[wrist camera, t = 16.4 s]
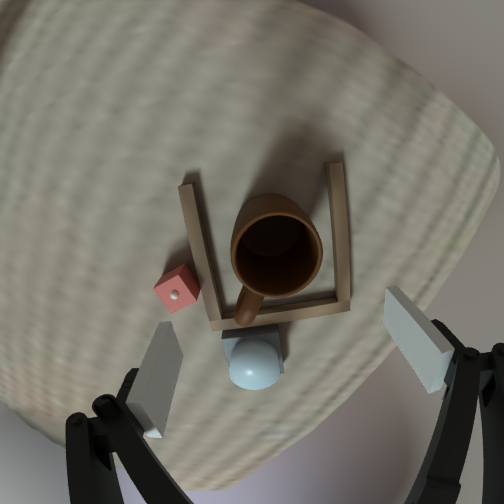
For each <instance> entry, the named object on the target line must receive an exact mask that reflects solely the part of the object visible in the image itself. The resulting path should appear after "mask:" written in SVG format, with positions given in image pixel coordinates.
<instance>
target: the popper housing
mask: <svg viewBox="0 0 504 504" xmlns="http://www.w3.org/2000/svg"><path fill="white" fill-rule="evenodd" d="M249 339H260V340H264V341H267V342H269V343H270V344H272V345H273V346H274V347H275V349H276V350H277V353H278V360H279V368H280V374H281V373H284V367H283V359H282V352H281V344H280V337H279V330H278V323H275V324H268V325H260V326H253V327H245V328H237V329H228V330H223V332H222V339H221V340H222V343H223V347H224V351H225V354H226V358H227V362H228V365H229V368H230V357H231V352H232V350H233V348H234V347H235V346H236V345H237V344H239V343H240V342H242V341H245V340H249Z"/></svg>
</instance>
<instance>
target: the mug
mask: <svg viewBox="0 0 504 504" xmlns="http://www.w3.org/2000/svg"><path fill="white" fill-rule="evenodd" d="M230 251H231V263H232V267H233V270H234V272H235V274H236V276H237V278H238V279H239V280H240V282H241V283H242V284H243V287H242V289H241V292H240V294H239V297H238V300H237V304H236V308H235V313H234V319H235V322H236V323H237V324H238V325H240V326H243V327H245V326H248V325H250V324H252V322H253V321H254V319H255V318H256V316H257V314H258V312H259V309H260V307H261V304H262V301H263V299H264V296H266V297H275V298H276V297H285V296H289V295H292V294H295V293H297V292H299V291H301V290H302V289H304V288H305V287H306V286H307V285H308V284H309V283H311V281H312V280H313V279H314V278H315V276H316V275H317V273H318V271H319V269H320V266H321V263H322V257H323V248H322V242H321V239H320V236H319V234H318V232H317V230H316V228H315V226H314V225H313V223H312V222H311V220H310V219H309V218H308V217H307V215H306V214H305V213H304V212H303V211H302V210H301V209H300V208H299V207H298V206H297V205H296V204H295V203H294V202H293V201H292V200H290V199H288V198H286V197H284V196H282V195H278V194H264V195H260V196H257V197H255V198H253V199H251V200H250V201H248V202H247V203H246V204H245V205H244V206H243V207H242V209H241V210H240V212H239V214H238V216H237V219H236V222H235V226H234V229H233V234H232V239H231V247H230Z"/></svg>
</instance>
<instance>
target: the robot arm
mask: <svg viewBox="0 0 504 504" xmlns="http://www.w3.org/2000/svg"><path fill="white" fill-rule="evenodd" d="M383 325H384V327H385V328H386V330H387V331H388V332H389V334H390V335H391V337H392V338H393V340H394V341H395V343H396V344H397V346H398V347H399V349H400V350H401V352H402V353H403V354H404V356H405V358H406V359H407V361H408V362H409V364H410V365H411V367H412V368H413V370H414V371H415V373H416V374H417V376H418V378H419V379H420V381H421V382H422V384H423V386H424V387H425V389H426V390H427V392H428V394H429V393H432V392H435V391H437V390H440V389H441V387H442V384H443V382H445V383H446V385H447V387H446V390H445V392H444V395H443V397H442V400H443V402H442V406H441V410H440V413H439V417H438V420H437V423H436V427H435V430H434V433H433V436H432V439H431V442H430V445H429V448H428V450H427V453H426V456H425V458H424V461H423V463H422V466H421V468H420V471H419V473H418V476H417V478H416V480H415V482H414V485H413V487H412V489H411V491H410V493H409V495H408V497H407V499H406V501H405V503H404V504H455V503H456V501H457V498H458V495H459V492H460V488H461V484H460V483H459V480H460V476H461V473H462V470H463V466H464V463H465V459H466V455H467V451H468V447H469V443H470V438H471V434H472V429H473V424H474V419H475V413H476V406H477V400H478V396H479V403H480V412H481V421H482V434H483V458H484V473H483V496H482V504H504V343H497V344H495V345H494V346H493V348H492V351H491V352H486V353H480V352H479V351H478V350H476V349H474V348H470V347H467V348H466V347H465V346H464V345H463V344H462V343H461V342H460V341H459V340H458V339H457V338H456V336H455V335H454V334H452V332H451V331H450V330H449V329H448V328H447V327H446V326H445V325H444V324H443V323H442V322H440V321H438V320H436V319H434V320H431V321H430V320H429V319H428V318H427V317H426V316H425V315H424V314H423V312H422V311H421V310H420V309H419V308H418V307H417V306H416V305H415V304H414V303H413V302H412V301H411V300H410V299H409V298H408V297H407V296H406V295H405V294H404V292H403V291H402V290H401V289H400V288H399V287H398V286H397V285H395V286H390V287H386V291H385V305H384V317H383ZM182 359H183V354H182V351H181V348H180V345H179V343H178V340H177V337H176V334H175V332H174V329H173V326H172V323H171V321H169V322H159V324H158V327H157V329H156V331H155V333H154V336H153V338H152V340H151V342H150V345H149V347H148V349H147V352H146V354H145V356H144V359H143V361H142V363H141V366H140V368H132V369H131V370H130V371H129V372H128V373H127V374H126V376H125V379H124V382H123V383H122V385H121V388H120V390H119V392H118V395H117V397H116V398H115V397H114V396H113V395H110V394H104V395H101V396H99V397H98V398H96V399H95V401H94V402H93V404H92V410H93V411H94V412H95V414H96V415H97V416H98V417H93V418H87V416H86V415H85V414H84V413H81V412H77V413H74V414H72V415H70V416H69V417H68V419H67V420H66V460H67V475H68V486H69V495H70V502H71V504H124V501H123V497H122V493H121V490H120V486H119V482H118V477H117V473H116V468H115V464H114V459H113V454H112V452H116V453H117V455H118V457H119V459H120V460H121V462H122V464H123V466H124V468H125V469H126V471H127V473H128V474H129V476H130V478H131V480H132V481H133V483H134V484H135V486H136V487H137V489H138V491H139V492H140V494H141V495H142V497H143V498H144V500H145V501H146V503H147V504H194V503H193V502H192V501H191V500H190V499H189V498H188V496H187V495H186V494H185V493H184V492H183V491H182V489H181V488H180V487H179V486H178V484H177V483H176V482H175V481H174V479H173V478H172V477H171V476H170V474H169V473H168V472H167V470H166V469H165V468H164V466H163V465H162V464H161V462H160V461H159V460H158V458H157V457H156V455H155V454H154V453H153V451H152V450H151V448H150V447H149V445H148V444H147V442H146V441H145V439H144V438H143V434H144V431H145V432H146V434H147V435H148V437H154V438H163V435H164V431H165V427H166V423H167V418H168V414H169V410H170V406H171V402H172V398H173V394H174V390H175V386H176V382H177V378H178V375H179V371H180V367H181V363H182Z"/></svg>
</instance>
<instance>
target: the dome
mask: <svg viewBox="0 0 504 504" xmlns="http://www.w3.org/2000/svg"><path fill="white" fill-rule="evenodd" d="M229 375H230V378H231V380H232V381H233V382H234V383H235V384H236V385H238V386H240V387H242V388H245V389H250V390H259V389H264V388H267V387H269V386H271V385H272V384H274V383H275V382H276V381H277V379H278V377H279V375H280V368H279V360H278V353H277V350H276V349H275V347H274V346H273V345H272V344H270V343H269V342H267V341H264V340H260V339H249V340H245V341H242V342H240V343H239V344H237V345H236V346H235V347H234V348H233V350H232V352H231V357H230V368H229Z"/></svg>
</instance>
